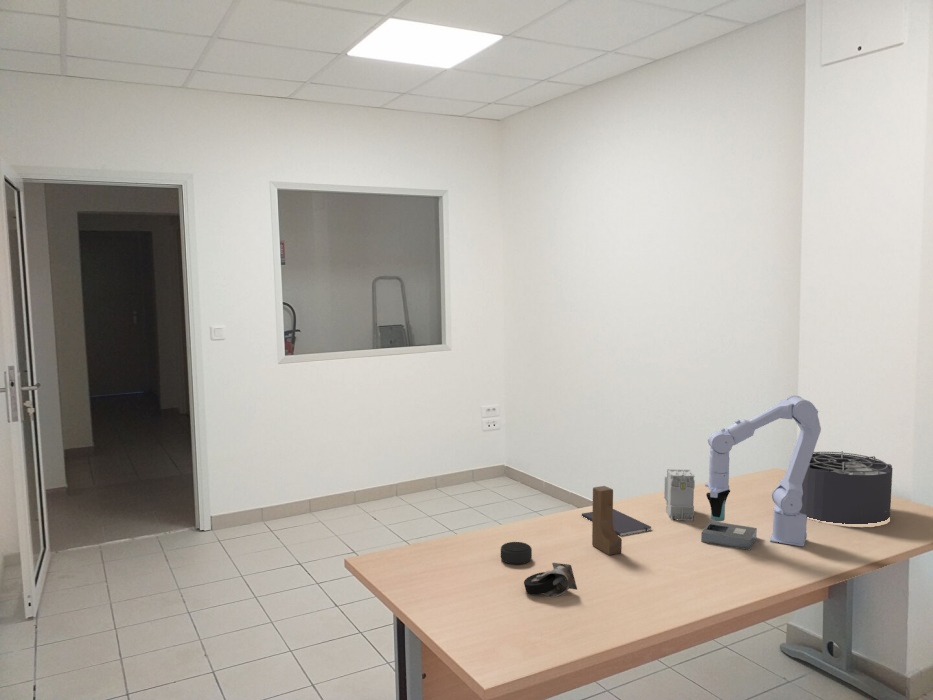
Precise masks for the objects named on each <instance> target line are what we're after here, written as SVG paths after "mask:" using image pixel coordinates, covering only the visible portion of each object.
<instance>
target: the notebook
mask: <svg viewBox="0 0 933 700" xmlns="http://www.w3.org/2000/svg"><path fill="white" fill-rule="evenodd" d="M582 516H583V517H582ZM581 517H582V518H584V517H585V518H587V519H588V520H587V519H586V520H587V521H589V520H590V522H591V521H592V518H593V511H590V512H583V513H581ZM585 518H584V519H585ZM613 528H614V530H615V533H616V534H617V535H619V537H622V535H623V536H627V535H626V534H628V535H633V533H634V534H639V533H643V532H642V531H644V532H648V531H647V530H650V531H651V529H652V526H650V525H648V524H646V523H644V522H643V521H640V520H638V519H636V518H633V517H631V516H629V515H627V514H625V513H623V512H621V511H618V510H617V509H614V508H613ZM638 532H639V533H638Z"/></svg>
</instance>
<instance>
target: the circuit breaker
mask: <svg viewBox="0 0 933 700" xmlns="http://www.w3.org/2000/svg"><path fill="white" fill-rule="evenodd" d="M695 477H696V476H695V474H694V473H693V472H692V470H691V469H670V468H669V469H666V476H664V497H663V498H664V499H665V502H666V503H665V504H666V511H665V512H666V514H667V516H668V519H676V520H675V521H694V516H695V506H694V504H695V503H694V499H695V498H694V497H695V495H694V493H695V491H694V490H695V483H696V482H695V481H696V480H695ZM677 519H678V520H677Z"/></svg>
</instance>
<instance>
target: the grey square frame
mask: <svg viewBox="0 0 933 700" xmlns="http://www.w3.org/2000/svg"><path fill="white" fill-rule="evenodd" d="M757 529H758V528H757V527H753V526H745V525H739V524H733V523H732V524H731V523H727V522H722V521H715V520H709V522H708V523H707V524H706V525H705V527H704V528H703V530H702V531H701V535H700V536H701V537H700V538H701V541H700V542H701V543H705V542H706V543H707V544H713V545H718V546H724V547H731V548H735V547H737V549H741V548H744V549H743V550H747V549H750V548H751V549H752V547H753V545H754V543H755V541H756V539H757V536H758V535H757V532H758V530H757ZM706 543H705V544H706ZM751 549H750V550H751Z"/></svg>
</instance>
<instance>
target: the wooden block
mask: <svg viewBox="0 0 933 700" xmlns="http://www.w3.org/2000/svg"><path fill="white" fill-rule="evenodd" d="M613 509H614V490H613V488H611V487H608V486H606V485H602V486H601V485H600V486H595V487H592V512H593V518H592V522H591V523H592V524H591V525H592V527H591V528H592V530H591V533H592V535H591V536H592V538H591V539H592V540H591V542H592V543H591V545H592V546H593V547H594V548H597V549H598V550H600V551H601V552H603V553H605V554H606V555H608V556H611V555H612V556H613V555H617V554H621V553H622V549H623V547H622V544H623V543H622V538H621V536H618V535H617V534H616V533H615V530H614V528H613Z"/></svg>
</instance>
